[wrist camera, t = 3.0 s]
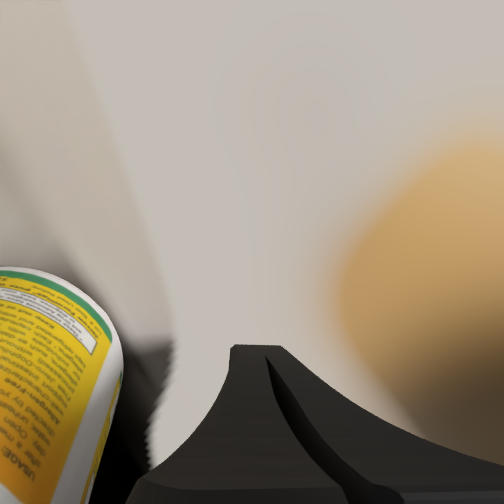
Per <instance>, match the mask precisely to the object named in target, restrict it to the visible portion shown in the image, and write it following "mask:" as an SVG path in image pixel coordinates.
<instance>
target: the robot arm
mask: <svg viewBox="0 0 504 504" xmlns="http://www.w3.org/2000/svg"><path fill="white" fill-rule="evenodd" d="M125 504H504V466H502V465H499V464H496V463H492V462H488V461H485V460H481V459H478V458H475V457H471V456H468V455H465V454H462V453H459V452H456V451H454V450H451V449H448V448H446V447H442V446H440V445H437V444H435V443H432V442H430V441H427V440H425V439H422V438H420V437H418V436H415V435H413V434H411V433H409V432H407V431H405V430H403V429H400V428H398V427H396V426H394V425H392V424H390V423H388V422H386V421H384V420H382V419H380V418H379V417H377V416H375V415H373V414H372V413H370V412H368V411H367V410H365V409H363V408H361V407H360V406H358V405H357V404H355V403H353V402H352V401H350V400H349V399H347V398H346V397H344V396H343V395H342V394H340V393H339V392H337V391H336V390H335V389H333V388H332V387H330V386H329V385H328V384H327V383H325V382H324V381H323V380H321V379H320V378H319V377H318V376H316V375H315V374H314V373H313V372H311V371H310V370H309V369H308V368H307V367H305V366H304V365H303V364H302V363H301V362H300V361H298V360H297V359H296V358H295V357H294V356H293V355H291V354H290V353H289V352H288V351H287V350H285V349H284V348H283V347H281V346H276V345H234V346H233V347H232V348H231V349H230V360H229V371H228V374H227V377H226V380H225V382H224V384H223V386H222V389H221V391H220V393H219V395H218V397H217V399H216V401H215V402H214V404H213V406H212V407H211V409H210V411H209V412H208V414H207V415H206V417H205V418H204V419H203V421H202V422H201V423H200V425H199V426H198V427H197V428H196V430H195V431H194V432H193V433H192V434H191V436H190V437H189V438H188V439H187V440H186V441H185V442H184V443H183V444H182V445H181V446H180V447H179V448H178V449H177V450H176V451H175V452H174V453H173V454H172V455H171V456H169V457H168V458H167V459H166V460H165V461H164V462H162V463H161V464H160V465H158V466H157V467H155V468H154V469H152V470H151V471H150V472H148V473H147V474H145V475H143V476H142V477H141V478H139V479H138V480H137V482H136V484H135V485H134V487H133V489H132V491H131V493H130V495H129V497H128V499H127V501H126V503H125Z"/></svg>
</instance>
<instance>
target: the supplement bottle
mask: <svg viewBox="0 0 504 504" xmlns="http://www.w3.org/2000/svg"><path fill="white" fill-rule="evenodd" d="M123 367H124V366H123V354H122V348H121V344H120V341H119V337H118V335H117V333H116V330H115V328H114V326H113V324H112V322H111V321H110V319H109V317H108V315H107V314H106V313H105V312H104V311H103V309H102V308H100V307H99V306H98V305H97V304H96V303H95V302H94V301H93V300H92V299H91V298H90V297H89V296H88V295H86V294H85V293H83V292H82V291H81V290H80V289H78V288H77V287H75V286H73V285H72V284H70V283H69V282H67V281H65V280H63V279H61V278H59V277H57V276H54V275H52V274H50V273H46V272H43V271H39V270H35V269H30V268H23V267H0V504H88V502H89V498H90V495H91V491H92V487H93V484H94V480H95V477H96V473H97V470H98V467H99V463H100V460H101V456H102V453H103V449H104V446H105V443H106V440H107V436H108V433H109V430H110V427H111V423H112V419H113V415H114V412H115V408H116V404H117V401H118V397H119V392H120V388H121V383H122V378H123Z"/></svg>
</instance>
